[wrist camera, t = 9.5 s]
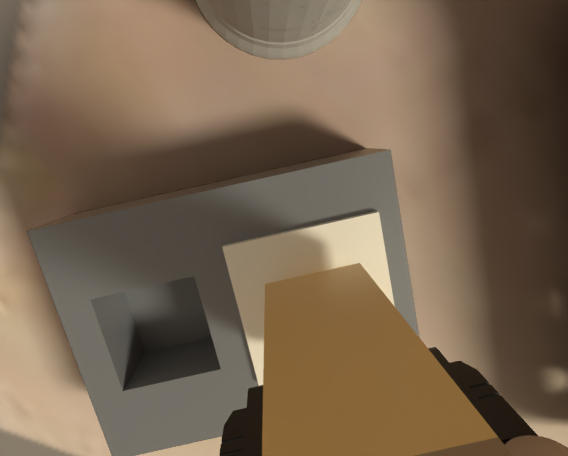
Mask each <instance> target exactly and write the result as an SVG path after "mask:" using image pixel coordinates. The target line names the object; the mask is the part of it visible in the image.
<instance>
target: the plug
mask: <svg viewBox="0 0 568 456" xmlns="http://www.w3.org/2000/svg"><path fill="white" fill-rule="evenodd" d="M262 456H513V455H512V454H511V452H510V451H509V450H508V449H507V447H506V446H505V445H504V444H503V442H502V441H501V440H500V439H499V437H498V436H497V435H496V434H495V432H494V431H493V430H492V429H491V427H490V426H489V425H488V424H487V422H486V421H485V420H484V418H483V417H482V416H481V415H480V413H479V412H478V411H477V410H476V408H475V407H474V406H473V405H472V403H471V402H470V401H469V400H468V398H467V397H466V396H465V395H464V393H463V392H462V391H461V390H460V388H459V387H458V386H457V385H456V383H455V382H454V381H453V379H452V378H451V377H450V376H449V374H448V373H447V372H446V371H445V369H444V368H443V367H442V366H441V364H440V363H439V362H438V361H437V359H436V358H435V357H434V356H433V354H432V353H431V352H430V351H429V349H428V348H427V347H426V346H425V344H424V343H423V342H422V340H421V339H420V338H419V337H418V335H417V334H416V333H415V332H414V330H413V329H412V328H411V327H410V325H409V324H408V323H407V322H406V320H405V319H404V318H403V317H402V315H401V314H400V313H399V312H398V310H397V309H396V308H395V307H394V305H393V304H392V303H391V301H390V300H389V299H388V298H387V296H386V295H385V294H384V293H383V291H382V290H381V289H380V288H379V286H378V285H377V284H376V283H375V281H374V280H373V279H372V278H371V276H370V275H369V274H368V273H367V271H366V270H365V269H364V267H363V266H362V265H361V264H360V263H356V264H352V265H348V266H343V267H339V268H334V269H330V270H325V271H321V272H316V273H312V274H307V275H303V276H298V277H294V278H289V279H285V280H280V281H276V282H271V283H267V284H265V310H264V369H263V427H262Z"/></svg>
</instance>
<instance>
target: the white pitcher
mask: <svg viewBox="0 0 568 456" xmlns="http://www.w3.org/2000/svg"><path fill="white" fill-rule="evenodd" d="M195 1H196V3H197V5H198V7H199V9H200V11H201V12H202V14H203V16H204V17H205V19H206V20H207V21H208V23H209V24H210V25H211V27H212V28H213V29H214V30H215V31H216V32H217V33H218V34H219V35H220V36H221V37H222V38H223V39H224V40H226V41H227V42H229V43H230V44H232V45H233V46H235V47H236V48H238V49H240V50H242V51H244V52H246V53H248V54H251V55H253V56H257V57H262V58H266V59H278V60H285V59H292V58H298V57H301V56H304V55H308V54H311V53H313V52H315V51H317V50H318V49H320V48H322V47H324V46H326V45H327V44H328V43H329V42H331V41H332V40H333V39H334V38H336V37H337V36H338V35H339V34H340V33H341V32H342V30H343V29H344V28H345V27H346V26H347V25H348V24H349V22H350V20H351V19H352V17H353V16H354V14H355V12H356V11H357V9H358V7H359V4H360V2H361V0H195Z"/></svg>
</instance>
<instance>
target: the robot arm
mask: <svg viewBox="0 0 568 456" xmlns="http://www.w3.org/2000/svg"><path fill="white" fill-rule="evenodd" d="M428 349H429V351H430V352H431V353H432V354H433V356H434V357H435V358H436V359H437V361H438V362H439V363H440V364H441V366H442V367H443V368H444V369H445V371H446V372H447V373H448V374H449V376H450V377H451V378H452V379H453V381H454V382H455V383H456V385H457V386H458V387H459V388H460V390H461V391H462V392H463V393H464V395H465V396H466V397H467V398H468V400H469V401H470V402H471V403H472V405H473V406H474V407H475V408H476V410H477V411H478V412H479V413H480V415H481V416H482V417H483V418H484V420H485V421H486V422H487V424H488V425H489V426H490V427H491V429H492V430H493V431H494V432H495V434H496V435H497V436H498V437H499V439H500V440H501V441H502V442H503V444H504V445H505V446H506V447H507V449H508V450H509V451H510V452H511V454H512V455H513V456H568V448H567V447H566V446H564V445H562V444H561V443H558V442H556V441H554V440H551V439H549V438H545V437H540V436H538V435H537V434H536V433H535V432H534V431H533V430H532V429H531V428H530V427H529V425H528V424H527V423H526V422H525V421H524V420H523V419H522V418H521V417H520V416H519V415H518V414H517V412H516V411H515V410H514V409H513V408H512V407H511V406H510V405H509V404H508V403H507V402H506V401H505V400H504V398H503V397H502V396H499V394H498V392H497V391H496V390H495V389H494V388H493V387H492V385H489V382H488V381H487V380H486V379H485V378H484V377H483V376H482V375H481V374H480V372H479V371H478V370H476V369H475V368H473V367H471V366H469V365H467V364H465V363H463V362H461V361H456V362H452V363H449V362H448V361H447V360H446V358H445V357H444V356H443V355H442V354H441V352H440V351H439V350H438V349H437V348H436V347H433V348H428ZM262 427H263V385H260V386H256V387H251V388H249V389H248V396H247V408H243V409H239V410H234V411H233V412H232V413H231V415H230V416H229V418H228V420H227V421H226V423H225V424H224V428H223V435H222V444H221V448H220V456H262Z"/></svg>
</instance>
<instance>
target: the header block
mask: <svg viewBox="0 0 568 456" xmlns="http://www.w3.org/2000/svg"><path fill="white" fill-rule="evenodd" d="M27 233H28V235H29V238H30V240H31V243H32V246H33V248H34V251H35V254H36V256H37V259H38V262H39V264H40V267H41V270H42V272H43V275H44V277H45V280H46V283H47V285H48V288H49V291H50V293H51V296H52V299H53V301H54V304H55V307H56V309H57V312H58V315H59V317H60V320H61V322H62V325H63V328H64V330H65V333H66V336H67V338H68V341H69V344H70V346H71V349H72V352H73V354H74V357H75V360H76V362H77V365H78V367H79V370H80V373H81V375H82V378H83V381H84V383H85V386H86V389H87V391H88V394H89V397H90V399H91V402H92V405H93V407H94V410H95V412H96V415H97V418H98V420H99V423H100V426H101V428H102V431H103V434H104V436H105V439H106V442H107V444H108V447H109V450H110V452H111V455H112V456H135V455H139V454H144V453H148V452H153V451H157V450H162V449H166V448H171V447H175V446H180V445H184V444H189V443H193V442H198V441H202V440H207V439H211V438H216V437H220V436H222V435H223V428H224V424H225V423H226V421H227V420H228V418H229V416H230V415H231V413H232V412H233V411H234V410H239V409H243V408H247V396H248V389H249V388H251V387H256V386H260V385H263V369H264V310H265V284H267V283H271V282H276V281H280V280H285V279H289V278H294V277H298V276H303V275H307V274H312V273H316V272H321V271H325V270H330V269H334V268H339V267H343V266H348V265H352V264H356V263H360V264H361V265H362V266H363V267H364V269H365V270H366V271H367V273H368V274H369V275H370V276H371V278H372V279H373V280H374V281H375V283H376V284H377V285H378V286H379V288H380V289H381V290H382V291H383V293H384V294H385V295H386V296H387V298H388V299H389V300H390V301H391V303H392V304H393V305H394V307H395V308H396V309H397V310H398V312H399V313H400V314H401V315H402V317H403V318H404V319H405V320H406V322H407V323H408V324H409V325H410V327H411V328H412V329H413V330H414V332H415V333H416V334H417V335H418V337H419V332H418V325H417V319H416V312H415V306H414V299H413V293H412V286H411V280H410V273H409V267H408V260H407V254H406V247H405V241H404V234H403V228H402V221H401V215H400V208H399V202H398V195H397V189H396V182H395V176H394V169H393V163H392V156H391V150H387V149H370V148H366V149H362V150H357V151H353V152H348V153H344V154H339V155H335V156H330V157H326V158H322V159H317V160H313V161H308V162H304V163H299V164H295V165H290V166H286V167H281V168H277V169H273V170H268V171H264V172H259V173H255V174H250V175H246V176H241V177H237V178H232V179H228V180H223V181H219V182H215V183H210V184H206V185H201V186H197V187H192V188H188V189H183V190H179V191H174V192H170V193H166V194H161V195H157V196H152V197H148V198H143V199H139V200H134V201H130V202H125V203H121V204H117V205H112V206H108V207H103V208H99V209H94V210H90V211H85V212H81V213H76V214H72V215H69V216H67V217H64V218H61V219H59V220H56V221H53V222H50V223H48V224H45V225H42V226H40V227H37V228H34V229H32V230H29V231H27Z"/></svg>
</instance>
